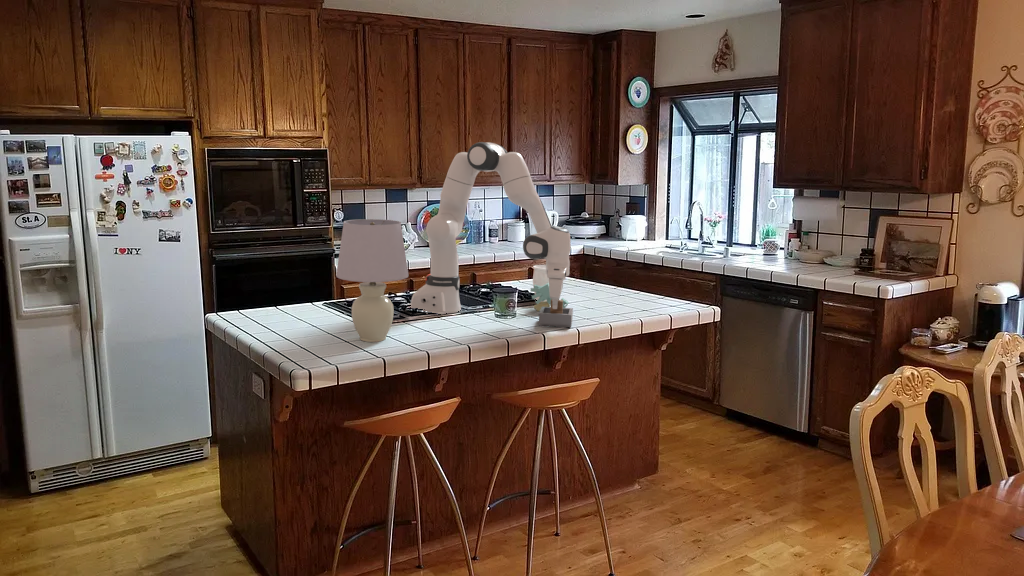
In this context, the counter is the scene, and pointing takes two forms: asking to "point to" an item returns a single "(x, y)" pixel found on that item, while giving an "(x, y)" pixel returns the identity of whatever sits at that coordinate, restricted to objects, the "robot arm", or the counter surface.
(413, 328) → the counter surface
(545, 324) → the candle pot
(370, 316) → the lamp
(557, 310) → the tan wooden brick
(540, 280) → the jar
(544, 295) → the toy
